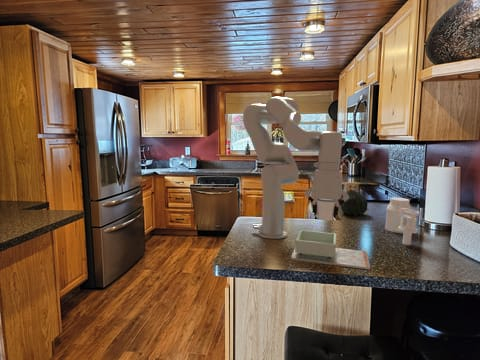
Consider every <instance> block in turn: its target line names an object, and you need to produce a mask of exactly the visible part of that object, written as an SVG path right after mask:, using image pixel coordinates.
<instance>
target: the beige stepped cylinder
mask: <svg viewBox="0 0 480 360" xmlns="http://www.w3.org/2000/svg"><path fill="white" fill-rule="evenodd" d="M408 212H410V213H408ZM417 216H420V211H419V210H415V209H412V210H409V209H408V208H401V210H400V217H402V218H401V226H399V227H398V230H399V231H401V232H403V233H402V234H403V235H402V244H403V245H405V246H411V245H412V237H413V236H412V234H418V231H419V230H418V228H417V227H416V226H417V220H418V219H417Z"/></svg>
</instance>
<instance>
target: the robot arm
mask: <svg viewBox="0 0 480 360" xmlns="http://www.w3.org/2000/svg"><path fill="white" fill-rule="evenodd" d="M242 114H243V115H242V123H243V126H244V129H245V131H246V133H247V135H248V136H249V138H250V141H251V143H252V146H253V149H254V152H255V153H256V156H257V159H258V161H259V162H260V163H261V164H265V165H264V167H263V168H262V169H261V172H260V180H261V184H262V208H261V209H262V213H261V216H262V217H261V223H260V224H258V223H253V224H252V228H253V230H258V232H257V235H258V236H259V237H261V238H264V239H267V240H269V239H270V240H281V239H284V238H286V237H288V232H287V231H286V230H284V229H285V227H284V224H285V223H284V222H285V221H284V220H285V203H286V202H285V198H286V197H285V193H284V190H283V188H282V186H288V185H293V184H296V183H297V182H298V180H299V177H300V173H299V168H298V165H297V163H296V161H295V158H294V155H293V153H292V151H291V149H290V147H289V146H288V145H287V144H286V143H283V142H274V141H273V140H272V138H271V136H270V134H269V133H270V132H269V131H268V130H267V129H266V128H265V127H264V126H263V125H262V124H267V125H270V124H271V125H273V124H274V125H275V124H279V125H280V126H281V127H282V134H283V136H284V139H285V140H286V141H287V142H288V143H289V144H290V145H291V146H292V148H294V149H295V150H297V151H300V152H318V156H317V157H318V158H317V160H318V161H317V162H313V167H315V168H316V169H315V170H314V173H313V179H312V186H311V187H310V188H309V189H307V190H306V191H305V192H304V194H303V195H304V196H305V197H306V198H307V200H309V201H308V202H310V203H311V205H312V211H311V212H312V214H313V216H316V217H317V205H316V202H317V200H318V198H320V199H331V200H334V201H335V207H334V215H333V219H336V217H337V216H339V208H340V207H341V205H342V204H343V203H344V202H345V201H346V200H348V199H349V196H348V195H347V194H346V193H345V191H344V188H343V174H342V172H343V171H341V170H340V169H341V167H340V166H341V155H342V145H343V143H342V142H343V134H342V132H339V131H323V130H311V129H307V130H306V129H303V128H301V127H300V126H299V124H300V123H301V121H302V116H301V113H300V112H299V104H298V102H297V101H296V99H294V98H290V97H284V96H273V97H270V98H269V99H268V100H267V101H266V103H265V104H262V103H251V104H248V105H247V106H246V107H245V108H244V111H243V113H242ZM266 164H267V165H266ZM343 196H344V198H343Z"/></svg>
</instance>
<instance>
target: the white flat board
mask: <svg viewBox="0 0 480 360" xmlns="http://www.w3.org/2000/svg"><path fill="white" fill-rule="evenodd" d="M293 249H294V250H293V252H292V254H291V257H290V260H291V261H298V262H299V261H300V262H301V261H302V262H306V263H307V262H308V263H315V264H323V265H331V266H337V267H338V266H339V267H346V268H347V267H348V268H354V269H361V270H369V271H370V270H371V265H370V261H369V257H368V253H367V251H366V250H358V249H350V248H341V247H336V250H335V257H331V259H328V256H319V255H311V254H303V253H302V255H299V253H295V248H293Z"/></svg>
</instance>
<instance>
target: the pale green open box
mask: <svg viewBox="0 0 480 360" xmlns="http://www.w3.org/2000/svg"><path fill="white" fill-rule="evenodd" d="M294 244H295V247H294V249H295V253H299V255H302V253H303V254H311V255H319V256H328V259H331V257H335V250H336V248H337V247H336V246H337V233H332V232H324V231H323V232H322V231H313V230H306V229H305V230H304V229H303V230H302V229H300V230H299V232H298V234H297V237H296V238H295V243H294Z"/></svg>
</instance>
